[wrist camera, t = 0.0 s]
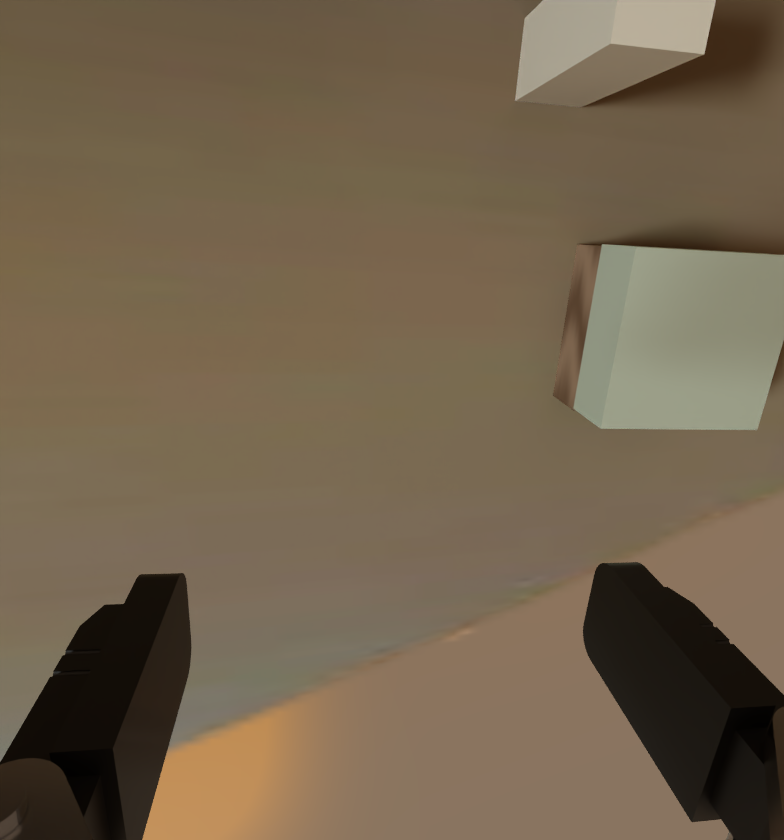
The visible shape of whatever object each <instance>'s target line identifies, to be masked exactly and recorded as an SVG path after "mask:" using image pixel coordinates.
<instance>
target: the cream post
mask: <svg viewBox="0 0 784 840" xmlns="http://www.w3.org/2000/svg"><path fill="white" fill-rule="evenodd" d="M715 2H716V0H543V1H542V2H541V3H540V4H539V5H538V6H537V7H536V8H535V9H534V10H533V11H532V12H531V13H530V14H529V15H528V16H527V17H526V18H525V21H524V29H523V38H522V47H521V55H520V64H519V72H518V81H517V89H516V98H515V101H519V102H529V103H540V104H550V105H561V106H571V107H583V106H585V105H588V104H590V103H592V102H595V101H597V100H599V99H602V98H604V97H606V96H609V95H611V94H613V93H616V92H618V91H620V90H623V89H625V88H627V87H630V86H632V85H634V84H637V83H639V82H641V81H644V80H646V79H648V78H651V77H653V76H655V75H657V74H660V73H662V72H664V71H667V70H669V69H671V68H674V67H676V66H678V65H681V64H683V63H685V62H688V61H690V60H692V59H695V58H697V57H699V56H702V55H704V54H705V49H706V44H707V40H708V35H709V30H710V25H711V21H712V16H713V11H714V7H715Z"/></svg>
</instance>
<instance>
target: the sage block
mask: <svg viewBox="0 0 784 840" xmlns="http://www.w3.org/2000/svg"><path fill="white" fill-rule="evenodd" d="M783 341H784V255H779V254H766V253H750V252H733V251H715V250H698V249H680V248H663V247H645V246H628V245H610V244H602V247H601V253H600V259H599V265H598V270H597V276H596V282H595V287H594V293H593V299H592V304H591V310H590V316H589V322H588V327H587V333H586V339H585V344H584V350H583V356H582V362H581V367H580V373H579V379H578V384H577V390H576V396H575V402H574V407H573V409H575V410H576V411H577V412H579V413H580V414H581V415H583V416H584V417H586V418H587V419H588V420H590V421H591V422H592V423H594V424H595V425H596V426H598V427H599V428H600V429H703V430H757V429H758V425H759V422H760V418H761V415H762V412H763V408H764V405H765V402H766V398H767V395H768V392H769V388H770V385H771V381H772V378H773V375H774V371H775V368H776V365H777V361H778V358H779V355H780V351H781V348H782V344H783Z"/></svg>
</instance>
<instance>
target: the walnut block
mask: <svg viewBox="0 0 784 840" xmlns="http://www.w3.org/2000/svg"><path fill="white" fill-rule="evenodd" d="M601 247H602V246H599V245H582V244H577V250H576V256H575V262H574V269H573V275H572V281H571V287H570V293H569V300H568V306H567V312H566V318H565V324H564V331H563V337H562V343H561V349H560V355H559V362H558V368H557V374H556V380H555V387H554V393H553V396H555V397H556V398H557V399H559V400H560V401H561V402H563V403H564V404H565V405H567V406H568V407H569V408H571V409H572V410H573V411H576V410H575V409H573V407H574V402H575V396H576V390H577V384H578V379H579V373H580V367H581V362H582V356H583V350H584V344H585V339H586V333H587V327H588V322H589V316H590V310H591V304H592V299H593V293H594V287H595V282H596V276H597V270H598V265H599V259H600V253H601Z"/></svg>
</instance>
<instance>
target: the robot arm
mask: <svg viewBox="0 0 784 840" xmlns="http://www.w3.org/2000/svg"><path fill="white" fill-rule="evenodd" d="M583 636H584V643H585V648H586V651H587V653H588V656H589V658H590V660H591V661H592V663H593V665H594V666H595V668H596V669H597V671H598V673H599V674H600V676H601V677H602V679H603V681H604V682H605V684H606V685H607V687H608V688H609V690H610V692H611V693H612V695H613V696H614V698H615V700H616V701H617V703H618V705H619V706H620V708H621V709H622V711H623V713H624V714H625V716H626V717H627V719H628V721H629V722H630V724H631V725H632V727H633V729H634V730H635V732H636V734H637V735H638V737H639V738H640V740H641V742H642V743H643V745H644V746H645V748H646V750H647V751H648V753H649V754H650V756H651V758H652V759H653V761H654V762H655V764H656V766H657V767H658V769H659V770H660V772H661V774H662V775H663V777H664V778H665V780H666V782H667V783H668V785H669V786H670V788H671V790H672V791H673V793H674V795H675V796H676V798H677V799H678V801H679V803H680V804H681V806H682V807H683V809H684V811H685V812H686V814H687V815H688V817H689V819H690V820H691V821H692V822H698V821H708V820H717V819H722V821H723V822H724V824H725V825H726V827H727V828H728V830H729V833H728V836H727V839H726V840H784V695H783V694H782V693H781V692H780V691H779V690H778V689H777V688H776V687H775V686H774V685H773V684H772V683H771V682H770V681H769V680H768V679H767V678H766V677H765V676H764V675H763V674H762V673H761V672H760V671H759V669H758V668H756V666H755V665H754V664H753V663H752V662H751V661H750V660H749V659H748V658H747V657H746V656H745V655H744V654H743V653H742V652H741V651H740V650H739V649H738V648H737V647H736V646H735V645H734V644H730V643H729V639H728V638H727V637H726V636H725V635H724V634H723V633H722V632H721V631H720V630H719V629H718V628H717V627H714V626H713V623H712V622H711V621H710V620H709V619H708V618H707V617H706V616H705V615H704V614H703V613H702V612H701V611H700V610H699V609H698V607H697V606H696V605H695V604H693V603H692V602H690V601H689V600H687V599H686V598H684V597H683V596H681V595H679V594H678V593H676V592H675V591H673V590H671V589H670V588H668V587H663V585H662V584H661V583H660V582H659V581H658V580H657V579H656V578H655V577H654V576H653V575H652V574H651V573H650V572H649V571H648V570H647V569H646V568H645V566H643V565H642V564H640V563H638V562H632V563H602V564H600V565H599V566H598V567H597V569H596V571H595V574H594V579H593V584H592V588H591V593H590V597H589V602H588V607H587V612H586V616H585V621H584V626H583ZM190 660H191V633H190V620H189V607H188V595H187V583H186V578H185V575H184V574H183V573H178V574H141V575H139V576H138V577H137V579H136V581H135V583H134V585H133V587H132V589H131V591H130V593H129V595H128V597H127V599H126V601H125V603H124V604H114V605H104V606H103V607H102V608H100V609H99V610H98V611H97V612H96V613H95V614H93V615H92V616H91V617H90V618H89V619H88V620H86V621H85V622H84V623H83V624H82V625H80V627H79V628H78V630H77V632H76V634H75V635H74V637H73V639H72V640H71V642H70V644H69V646H68V647H67V649H66V653H65V655H63V656H62V658H61V659H60V661H59V663H58V664H57V666H56V668H55V670H54V671H53V672H54V673H53V677H50V678H49V680H48V682H47V683H46V685H45V687H44V688H43V690H42V692H41V694H40V695H39V697H38V699H37V700H36V702H35V704H34V706H33V707H32V709H31V711H30V712H29V714H28V716H27V718H26V719H25V721H24V723H23V724H22V726H21V728H20V730H19V731H18V733H17V735H16V736H15V738H14V740H13V742H12V743H11V745H10V747H9V748H8V750H7V752H6V754H5V755H4V757H3V759H2V760H1V762H0V840H142V838H143V834H144V831H145V827H146V824H147V820H148V817H149V813H150V810H151V806H152V803H153V799H154V795H155V792H156V788H157V785H158V781H159V778H160V773H161V771H162V767H163V763H164V760H165V756H166V753H167V749H168V746H169V742H170V739H171V735H172V732H173V728H174V724H175V721H176V717H177V714H178V710H179V707H180V703H181V700H182V696H183V693H184V689H185V685H186V682H187V678H188V674H189V668H190Z"/></svg>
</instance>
